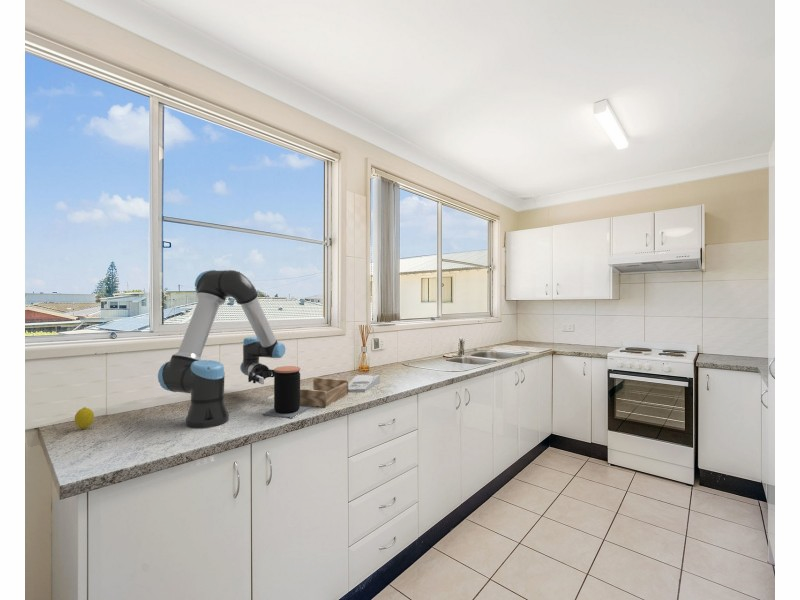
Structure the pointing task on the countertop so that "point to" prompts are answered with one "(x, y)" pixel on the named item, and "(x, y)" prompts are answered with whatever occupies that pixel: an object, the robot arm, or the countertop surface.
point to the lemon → (84, 418)
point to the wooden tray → (324, 392)
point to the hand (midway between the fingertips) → (278, 378)
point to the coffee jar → (287, 389)
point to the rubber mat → (274, 413)
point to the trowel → (363, 383)
